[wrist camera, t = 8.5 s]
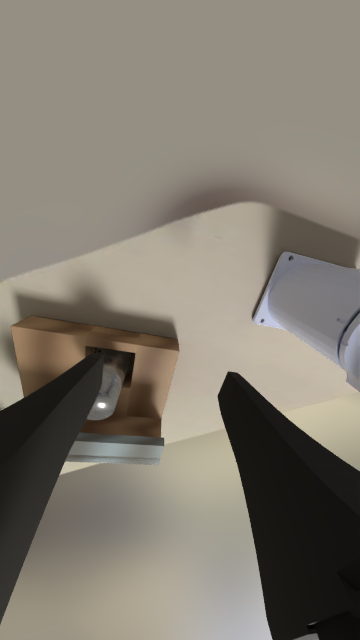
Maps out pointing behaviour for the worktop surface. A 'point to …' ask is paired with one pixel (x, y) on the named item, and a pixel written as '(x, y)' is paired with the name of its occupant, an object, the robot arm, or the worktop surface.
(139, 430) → the socket board
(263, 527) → the robot arm
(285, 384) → the worktop surface
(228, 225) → the worktop surface
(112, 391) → the peg
